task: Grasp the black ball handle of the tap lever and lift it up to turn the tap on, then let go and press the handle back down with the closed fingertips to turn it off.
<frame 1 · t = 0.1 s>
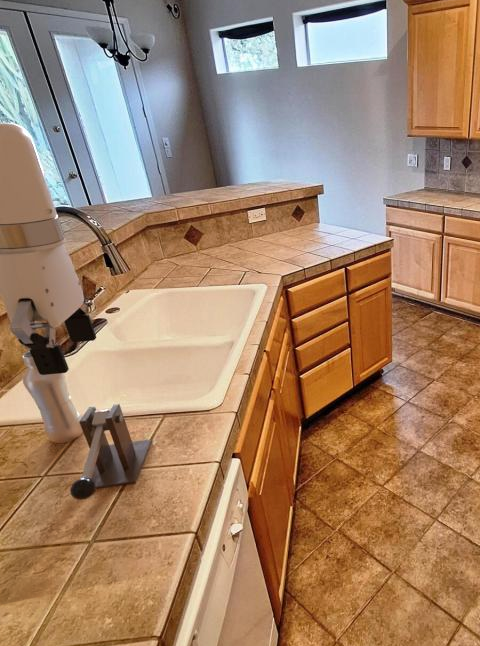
hand: (70, 355, 61), 30 cm above the counter, tool pointing down, fingers open, 9 cm apart
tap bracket: (119, 467, 82), on the counter
plastic bottle: (69, 437, 90), on the counter
tap lever: (93, 453, 73), point 9 cm above the counter, hinge at -20.0°
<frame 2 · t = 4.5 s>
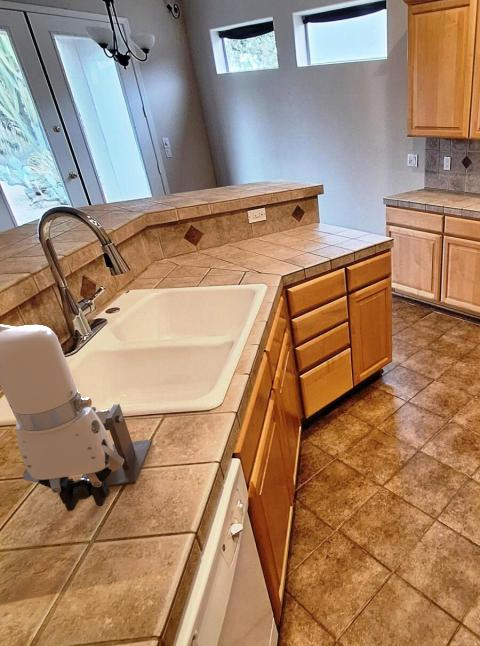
hand: (88, 501, 70), 4 cm above the counter, tool pointing down, fingers closed on tap lever, 3 cm apart
tap lever: (93, 453, 73), point 9 cm above the counter, hinge at -20.0°, touching gripper
everything else where it was.
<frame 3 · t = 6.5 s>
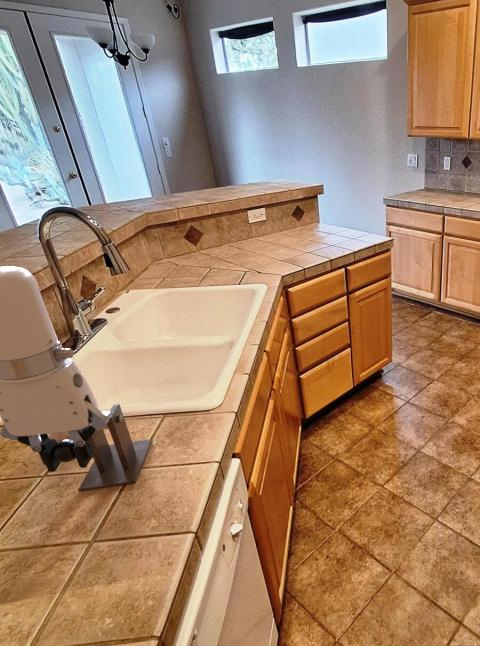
hand: (71, 462, 66), 12 cm above the counter, tool pointing down, fingers closed on tap lever, 3 cm apart
tap lever: (85, 434, 71), point 13 cm above the counter, hinge at 16.0°, touching gripper
everything else where it was.
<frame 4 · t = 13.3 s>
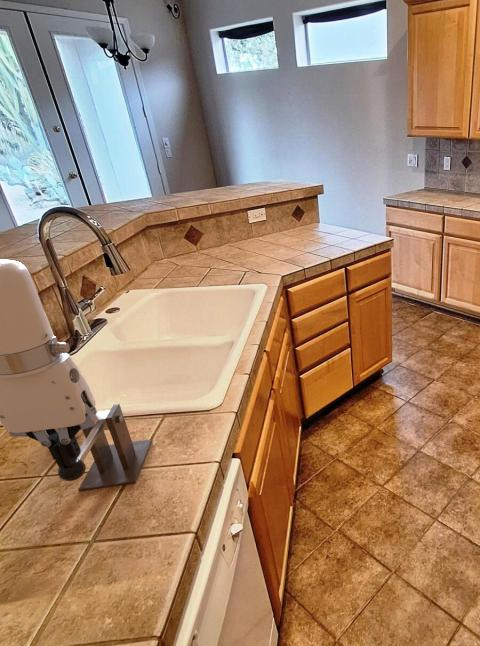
hand: (69, 460, 65), 13 cm above the counter, tool pointing down, fingers closed
tap lever: (88, 443, 71), point 11 cm above the counter, hinge at 1.2°, touching gripper
everything else where it was.
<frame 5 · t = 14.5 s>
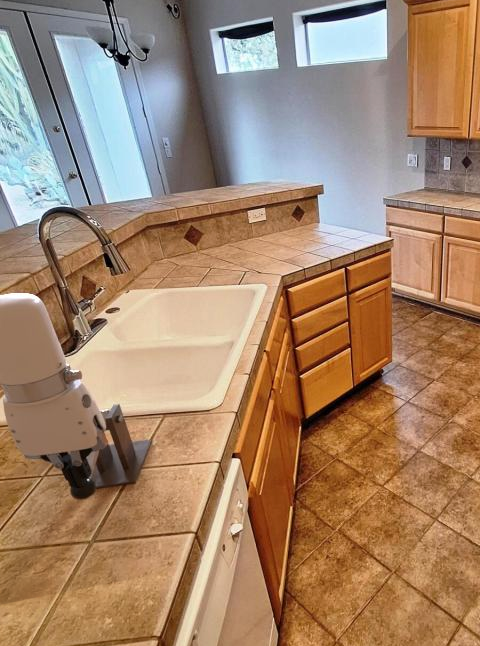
hand: (81, 480, 68), 8 cm above the counter, tool pointing down, fingers closed
tap lever: (93, 453, 73), point 9 cm above the counter, hinge at -20.0°, touching gripper
everything else where it was.
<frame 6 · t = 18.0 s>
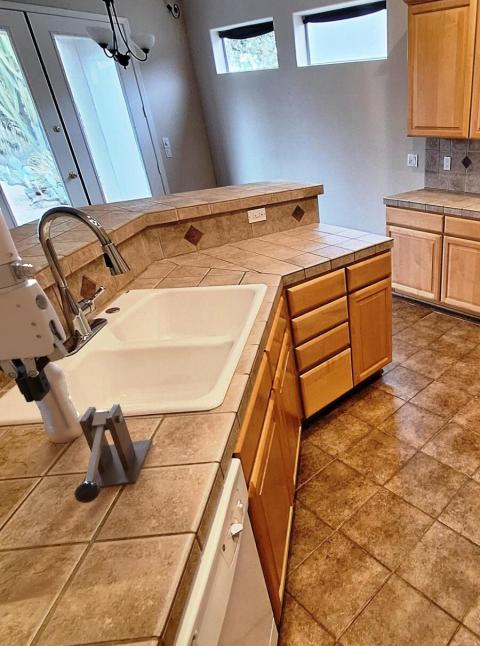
hand: (38, 396, 63), 23 cm above the counter, tool pointing down, fingers closed
tap lever: (95, 455, 73), point 8 cm above the counter, hinge at -26.4°
everything else where it was.
at the end: tap lever reached +19° during the clip, -26° at the end; tap lever at -26° (first picture: -20°) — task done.
